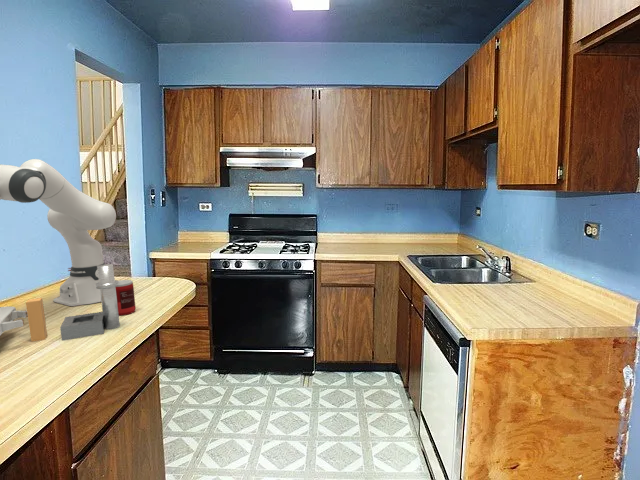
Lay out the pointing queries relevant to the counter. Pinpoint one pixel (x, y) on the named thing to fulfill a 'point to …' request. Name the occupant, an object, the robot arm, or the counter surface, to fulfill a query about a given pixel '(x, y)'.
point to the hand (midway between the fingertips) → (27, 317)
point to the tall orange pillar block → (36, 319)
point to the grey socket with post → (99, 320)
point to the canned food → (125, 297)
